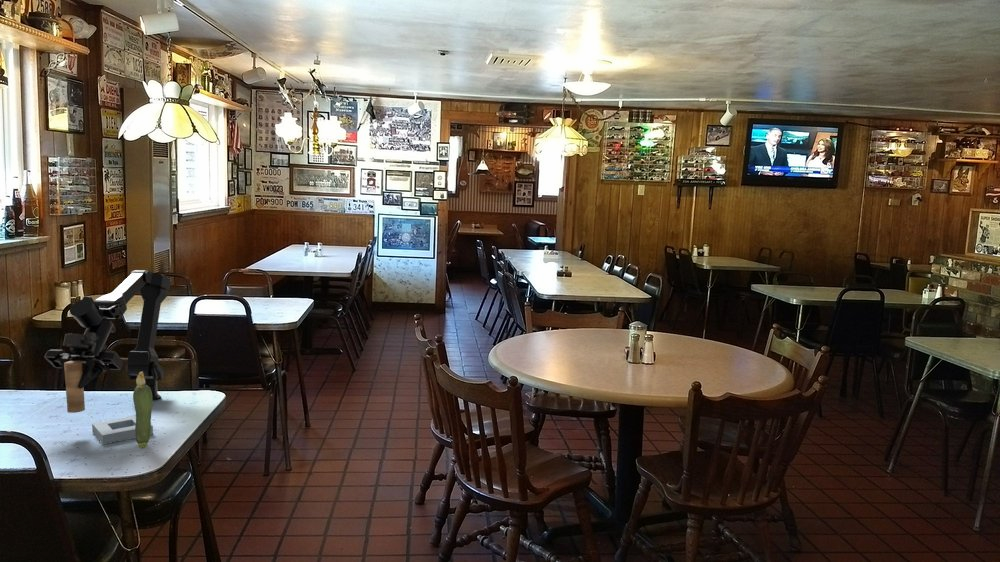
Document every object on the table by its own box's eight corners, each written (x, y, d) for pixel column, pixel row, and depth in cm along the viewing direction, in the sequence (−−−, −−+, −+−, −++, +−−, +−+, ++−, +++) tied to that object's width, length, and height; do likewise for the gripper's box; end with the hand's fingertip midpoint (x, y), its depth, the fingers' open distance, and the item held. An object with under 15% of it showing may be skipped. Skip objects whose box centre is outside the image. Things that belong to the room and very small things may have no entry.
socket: (92, 432, 191) (91, 423, 191) (140, 423, 199) (140, 414, 198) (102, 444, 182) (102, 435, 182) (153, 434, 190) (152, 425, 189)
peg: (65, 410, 188) (62, 362, 186) (83, 407, 190) (80, 359, 188) (69, 413, 185) (65, 365, 183) (86, 410, 187) (83, 362, 186)
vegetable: (136, 444, 182) (133, 368, 180) (155, 442, 184) (151, 367, 181) (134, 450, 178) (130, 373, 176) (153, 448, 180) (150, 371, 177)
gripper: (46, 319, 189) (19, 370, 179) (114, 321, 188) (90, 373, 178) (67, 342, 198) (43, 392, 188) (132, 344, 197) (111, 394, 187)
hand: (71, 387), depth 185 cm, fingers closed on peg, 4 cm apart
